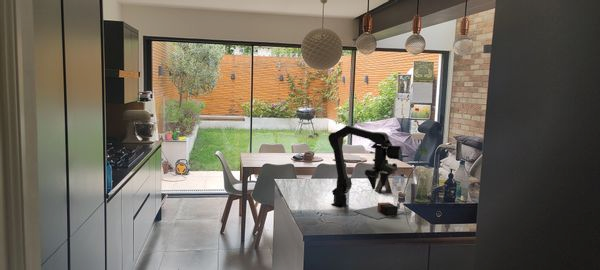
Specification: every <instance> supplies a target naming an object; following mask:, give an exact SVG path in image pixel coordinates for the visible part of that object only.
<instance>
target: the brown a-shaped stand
mask: <svg viewBox="0 0 600 270" xmlns="http://www.w3.org/2000/svg"><path fill="white" fill-rule="evenodd" d="M389 177H390V176H388V178H387V181H386V184H385V186H384V187H382V184H381V178H380V177H379V178H378V182H377V183H376V186H375V189H374V192H376V193H378V194H392V193H393V191H392V188H391V185H390V184H391V183H390V181H389ZM383 188H385V189H383Z"/></svg>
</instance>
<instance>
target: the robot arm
mask: <svg viewBox="0 0 600 270" xmlns="http://www.w3.org/2000/svg"><path fill="white" fill-rule="evenodd" d="M348 135H353V136H355V137H356V136H357V137H360V138H364V139H367V140H369V141H370V142H372V143H373V144H372V146H370V148H371V149H374V158H373V159H372V162H373V166H372V168H368V169H366V170H364V175H365V177H366V178H367V179H368V181H369V183H370V186H371V189H372V190H375V189H376V186H377V180H378V179H380V178H381V184H382V187H383V188H385V184H386V181H387V178H388V179H389V177H390V176H392V175H394V174H395V173H396V172H397V171H398V164H397V163H396V162H395V163H389V160H388V159H391V160H399V161H400V160H401V159H402V156H403V151H402V146H401V145H393V143H392V142H391V141H390V139H389V135H388V133H386V132H382V131H369V130H367V129H362V128H359V127H355V126H352V125H345V126H344V127H342V128H341V129H339V130H336V131H335V132H331V133H330V134H329V135H328V142H329V144H330V147H331V148H332V150H333V155H334V162H335V166H336V172H337V173H336V174H337V178H336V187H335V188H334V189H333V190H331V193H332V195H333V203H331V204H330V205H332V206H334V207H337V208H344V207H347V206H349V205H348V204H347V194H348V192H349V191H350V190H351V189H352V185H353V183H352V177H349V176H348V175H347V172H346V171H347V170H346V165H345V159H344V158H345V157H344V153H343V146H344V138H346V137H347V136H348ZM387 158H388V159H387ZM388 176H389V177H388Z"/></svg>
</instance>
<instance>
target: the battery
mask: <svg viewBox="0 0 600 270" xmlns="http://www.w3.org/2000/svg"><path fill="white" fill-rule="evenodd" d="M377 206H378V209H377V210H378V211H379V212H381V213H382V214H384V215H385V216H390V215H395V216H398V215H397V213H398V211H399V210H398V209H399V206H397V205H396V204H393V203H391V202H390V201H389V202H378V203H377ZM390 217H391V216H390Z"/></svg>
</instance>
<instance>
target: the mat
mask: <svg viewBox="0 0 600 270" xmlns="http://www.w3.org/2000/svg"><path fill="white" fill-rule="evenodd" d="M377 209H378V205H375V206H370V207H365V208H361V209H355V210H353V212H354V213H357V214H360V215H362V216H365V217H368V218H372V219H374V220H382V219H385V218H389V217H393V216H394V217H395V216H399V215H403V214H404V212H403V211H402V212H401V211H399V210H398V213H397V215H390V216H385V215H384V214H382V213H381V212H379V211H378V210H377Z"/></svg>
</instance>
